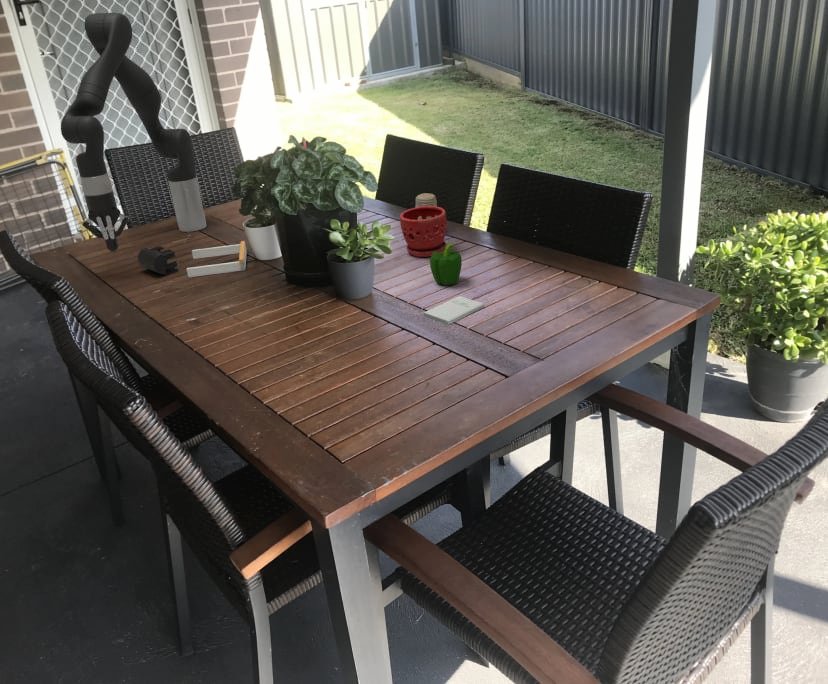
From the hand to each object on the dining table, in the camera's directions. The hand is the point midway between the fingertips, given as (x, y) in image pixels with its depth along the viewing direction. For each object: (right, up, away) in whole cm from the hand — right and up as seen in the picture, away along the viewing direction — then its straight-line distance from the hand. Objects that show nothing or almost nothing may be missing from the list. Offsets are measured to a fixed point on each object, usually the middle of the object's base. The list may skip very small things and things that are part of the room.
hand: (113, 250), depth 208 cm
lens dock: (+28, -3, +7) cm, 29 cm away
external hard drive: (+95, -20, -35) cm, 103 cm away
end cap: (+11, -6, +5) cm, 14 cm away
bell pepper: (+95, -11, -18) cm, 97 cm away
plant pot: (+89, 0, +4) cm, 89 cm away
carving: (+90, +8, +19) cm, 93 cm away
